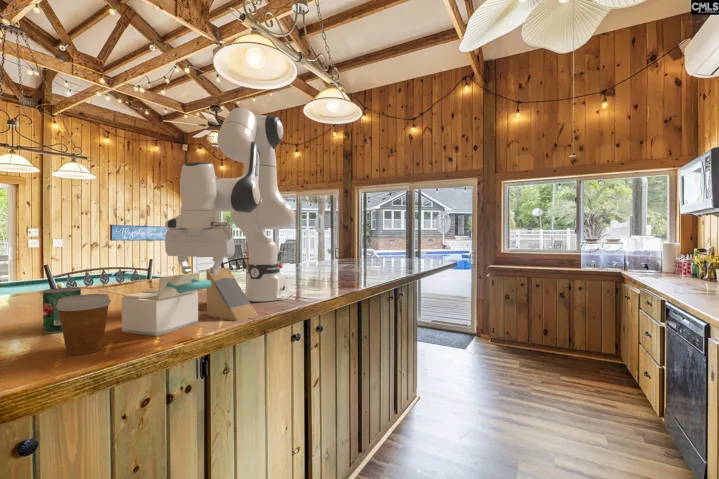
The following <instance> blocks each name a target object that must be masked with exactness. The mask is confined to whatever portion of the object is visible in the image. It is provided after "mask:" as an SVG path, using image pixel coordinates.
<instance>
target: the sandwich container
mask: <svg viewBox="0 0 719 479" xmlns="http://www.w3.org/2000/svg"><path fill="white" fill-rule="evenodd" d="M205 273H206V275H205V276H206V280H210V281H211V287H209V288H206V316H210V317H214V318H218V319H225V320H230V321H235V322H239V321H240V322H241V321H244V320H246V319H248V318H249V319H252V318H254V317H255V318H256V317H258V316H259V314H258V313H257V311H256V309H254V307H253V305H252V304H251V301H248V299H247V298H246V296H245V292H244V291H243V289H242V288H241V286H240V285H239V283H238V282H237V279H236V278H235V276H234V275H233V274H232V271H231V269H230V268H229V267H219V274H216V275H215V274H210V268H207V269H206V272H205Z"/></svg>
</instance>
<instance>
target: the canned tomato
mask: <svg viewBox="0 0 719 479" xmlns="http://www.w3.org/2000/svg"><path fill="white" fill-rule="evenodd" d="M81 290H82V287H78V286H75V287H72V286H70V287H69V286H68V287H57V288H50V289H44V290H42V333H44V334H60V333H62V334H63V331H62V326H61V320H60V314H59V310H58V309H57V307H56V305H57V304H58V301H59V299H61V298H64V297H69V296H76V295H82V293H81Z"/></svg>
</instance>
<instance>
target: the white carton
mask: <svg viewBox="0 0 719 479" xmlns="http://www.w3.org/2000/svg"><path fill="white" fill-rule="evenodd" d="M157 296H158V295H157ZM157 296H152V297H146V298H141V299H134V298H123V297H122V298H121V333H126V334H127V333H128V334H133V335H134V334H135V335H143V336H150V337H151V336H153V337H159V336H162V335H165V334H168V333H171V332H174V331H177V330H180V329H184V328H186V327H189V326H192V325H195V324H198V323H199V292H198V291H197V292H192V293H187V294H183V295H178V296H173V297H168V298H164V299H157Z"/></svg>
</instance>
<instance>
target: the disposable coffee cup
mask: <svg viewBox="0 0 719 479" xmlns="http://www.w3.org/2000/svg"><path fill="white" fill-rule="evenodd" d="M111 301H112V300H111V299H110V296H109V294H106V293H88V294H87V293H86V294H81V295H76V296H69V297H64V298H61V299H59V301H58V304H57V305H56V307H57V309H58V310H59V314H60V320H61V326H62V331H63V332H62V337H63V341H64V346H65V354H66V355H68V356H82V355H88V354H92V353H95V352H98V351H100V350H102V349H103V346H104V339H105V333H106V332H105V331H106V325H107V318H108V310H109V305H111V304H110V303H111Z"/></svg>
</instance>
